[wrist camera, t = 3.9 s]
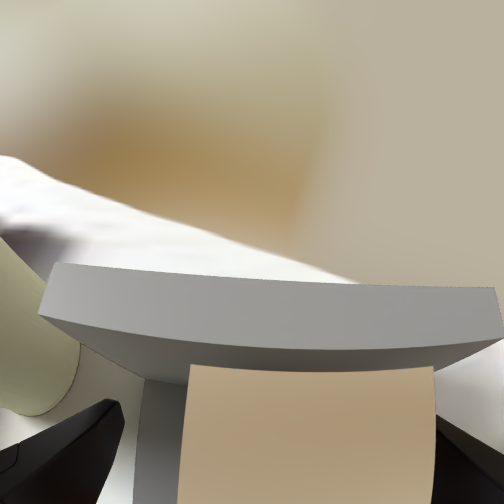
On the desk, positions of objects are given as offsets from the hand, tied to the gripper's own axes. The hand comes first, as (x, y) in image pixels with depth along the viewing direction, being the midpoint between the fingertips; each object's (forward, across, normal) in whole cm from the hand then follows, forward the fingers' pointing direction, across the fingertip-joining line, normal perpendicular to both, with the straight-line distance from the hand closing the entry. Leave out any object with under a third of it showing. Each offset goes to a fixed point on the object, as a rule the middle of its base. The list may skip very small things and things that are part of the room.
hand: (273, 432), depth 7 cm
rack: (+1, 0, +9) cm, 9 cm away
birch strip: (+3, 0, +5) cm, 6 cm away
